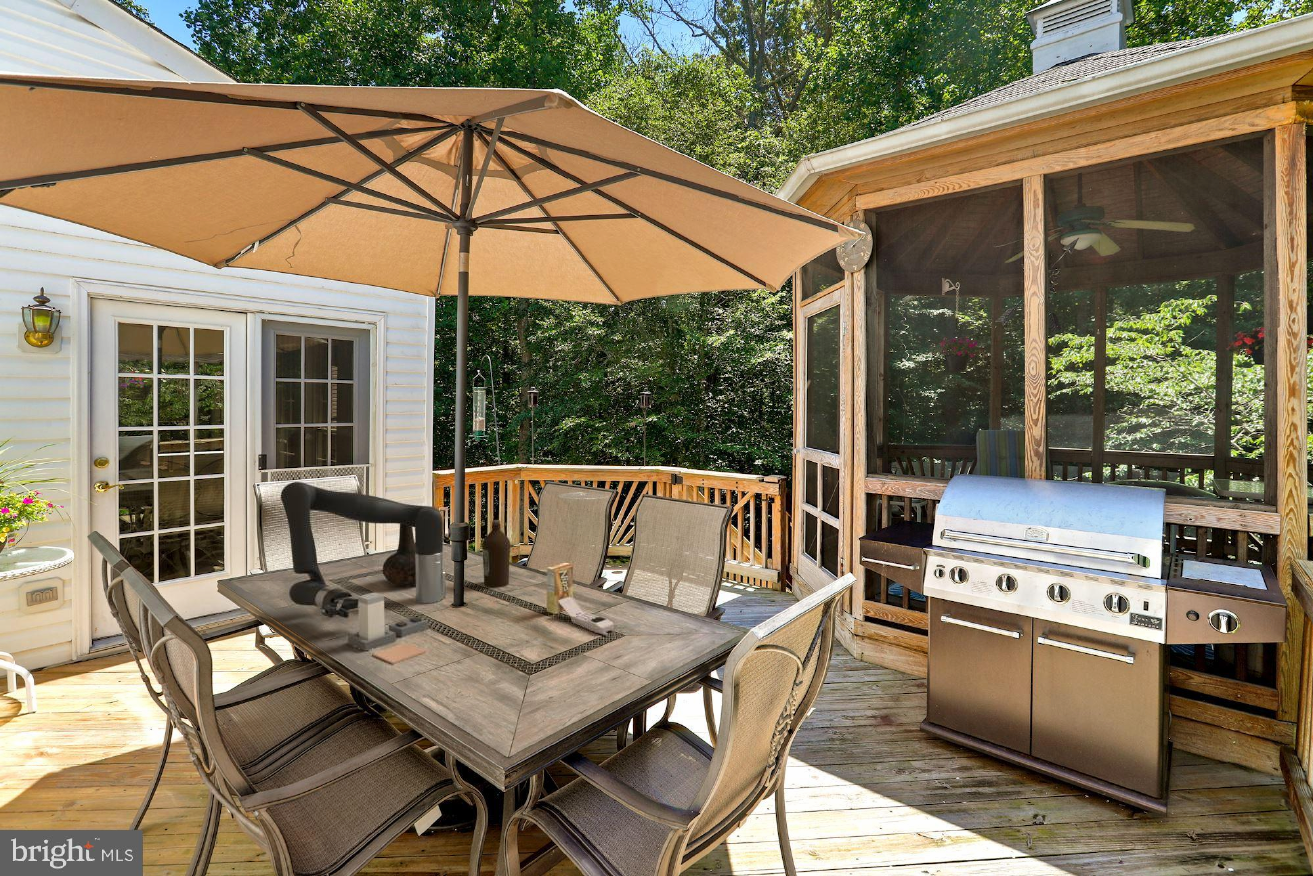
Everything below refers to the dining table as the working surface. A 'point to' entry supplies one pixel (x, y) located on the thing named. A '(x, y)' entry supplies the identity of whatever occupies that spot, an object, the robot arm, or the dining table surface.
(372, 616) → the block
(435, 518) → the robot arm
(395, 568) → the dark brown vase
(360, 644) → the charging dock
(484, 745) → the dining table surface
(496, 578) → the olive oil
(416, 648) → the coaster
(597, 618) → the mobile phone
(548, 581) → the candy box
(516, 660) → the dining table surface
